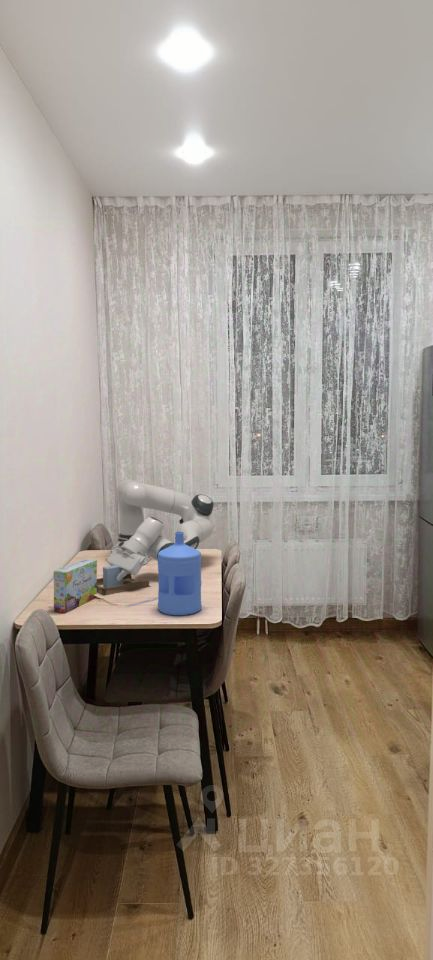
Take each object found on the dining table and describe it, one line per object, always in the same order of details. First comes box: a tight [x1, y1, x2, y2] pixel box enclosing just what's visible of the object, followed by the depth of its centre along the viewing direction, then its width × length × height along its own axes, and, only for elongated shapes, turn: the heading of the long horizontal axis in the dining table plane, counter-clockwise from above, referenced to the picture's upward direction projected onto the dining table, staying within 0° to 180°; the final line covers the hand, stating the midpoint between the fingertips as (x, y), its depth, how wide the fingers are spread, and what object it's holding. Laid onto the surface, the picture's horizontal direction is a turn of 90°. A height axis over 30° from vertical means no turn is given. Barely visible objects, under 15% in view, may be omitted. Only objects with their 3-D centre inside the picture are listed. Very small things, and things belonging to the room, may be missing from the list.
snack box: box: [53, 558, 98, 614], centre depth 236 cm, size 21×6×15 cm, turn 160°
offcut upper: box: [123, 578, 139, 585], centre depth 258 cm, size 6×3×2 cm, turn 54°
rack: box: [97, 573, 152, 600], centre depth 255 cm, size 15×21×4 cm
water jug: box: [157, 531, 202, 616], centre depth 229 cm, size 16×16×28 cm
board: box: [102, 565, 123, 588], centre depth 253 cm, size 4×7×10 cm, turn 127°
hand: (112, 578), depth 253 cm, fingers open, 5 cm apart
